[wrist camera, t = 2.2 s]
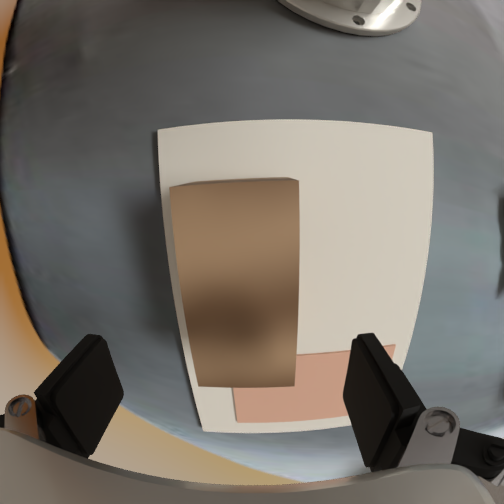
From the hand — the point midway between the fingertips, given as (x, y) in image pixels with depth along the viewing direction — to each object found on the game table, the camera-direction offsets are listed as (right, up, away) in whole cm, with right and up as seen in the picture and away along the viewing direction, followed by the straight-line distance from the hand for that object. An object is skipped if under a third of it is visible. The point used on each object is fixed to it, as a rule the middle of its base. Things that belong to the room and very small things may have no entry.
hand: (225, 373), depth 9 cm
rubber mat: (+5, 0, +10) cm, 11 cm away
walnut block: (+1, +3, +8) cm, 9 cm away
